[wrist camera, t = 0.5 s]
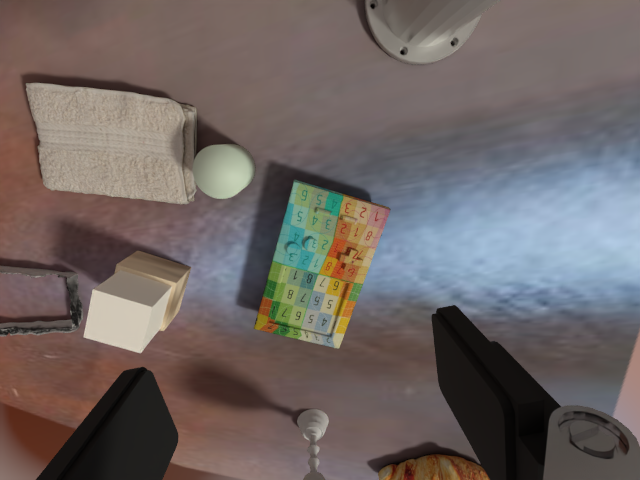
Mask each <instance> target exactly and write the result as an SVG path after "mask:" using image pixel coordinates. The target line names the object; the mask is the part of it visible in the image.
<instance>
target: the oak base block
mask: <svg viewBox="0 0 640 480" xmlns="http://www.w3.org/2000/svg"><path fill="white" fill-rule="evenodd" d="M120 270H122V271H126V272H129V273H132V274H135V275H138V276H142V277H145V278H148V279H151V280H154V281H158V282H161V283H164V284H167V285H170V286H172V288H171V292H170V296H169V299H168V303H167V307H166V311H165V314H164V318H163V322H162V325H161V328H160V329H159V330H161V331H164V330H165V329H166V328H167V326H168V325H169V324H170V322H171V321H172V320H173V318H174V317H175V316H176V314H177V313H178V312H179V309H180V306H181V302H182V298H183V295H184V291H185V288H186V284H187V280H188V277H189V273H190V270H191V267H189V266H185V265H182V264H179V263H176V262H173V261H170V260H167V259H163V258H160V257H157V256H154V255H151V254H148V253H145V252H141V251H136V252H135V253H133V254H132V255H130V256H129V257H127V258H125V259H124V260H122V261H121V262H119V263H118V264H116V269H115V273H114V274H116V273H117V272H118V271H120Z"/></svg>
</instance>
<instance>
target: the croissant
mask: <svg viewBox="0 0 640 480" xmlns="http://www.w3.org/2000/svg"><path fill="white" fill-rule="evenodd" d="M378 476H379V480H490V479H489V477H488V475H487V474H486V472H485V470H484V469H483V468H482V467H481V466H479V465H477V464H476V463H473V462H471V461H467V460H465V459H464V458H461V457H457V456H447V455H440V454H433V455H428V456H423V457H420V458H418V459H416V460H414V459H409V460H406V461H405V462H403V463H400V464H399V465H394V464H391V465H388V466H386V467H384V468H382V469H381V470H380V471H379V473H378Z"/></svg>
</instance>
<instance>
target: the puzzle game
mask: <svg viewBox="0 0 640 480" xmlns="http://www.w3.org/2000/svg"><path fill="white" fill-rule="evenodd" d="M390 210H391V209H390V208H388V207H386V206H382V205H379V204H376V203H372V202H369V201H366V200H362V199H359V198H355V197H352V196H349V195H345V194H342V193H338V192H335V191H332V190H328V189H325V188H322V187H318V186H315V185H311V184H308V183H305V182H301V181H298V180H294V183H293V187H292V190H291V194H290V198H289V201H288V205H287V209H286V212H285V216H284V220H283V223H282V227H281V231H280V234H279V238H278V242H277V245H276V249H275V253H274V256H273V260H272V264H271V267H270V271H269V275H268V278H267V282H266V286H265V289H264V293H263V297H262V300H261V304H260V308H259V311H258V315H257V319H256V322H255V326H254V329H257V330H261V331H265V332H269V333H274V334H278V335H282V336H286V337H291V338H295V339H299V340H303V341H308V342H312V343H316V344H320V345H325V346H329V347H333V348H337V349H339V347H340V344H341V342H342V339H343V336H344V334H345V331H346V328H347V326H348V323H349V320H350V317H351V315H352V312H353V309H354V307H355V304H356V301H357V299H358V296H359V293H360V291H361V288H362V285H363V282H364V280H365V277H366V274H367V272H368V269H369V266H370V264H371V261H372V258H373V255H374V253H375V250H376V247H377V245H378V242H379V239H380V237H381V234H382V231H383V229H384V226H385V223H386V221H387V218H388V215H389V212H390Z"/></svg>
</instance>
